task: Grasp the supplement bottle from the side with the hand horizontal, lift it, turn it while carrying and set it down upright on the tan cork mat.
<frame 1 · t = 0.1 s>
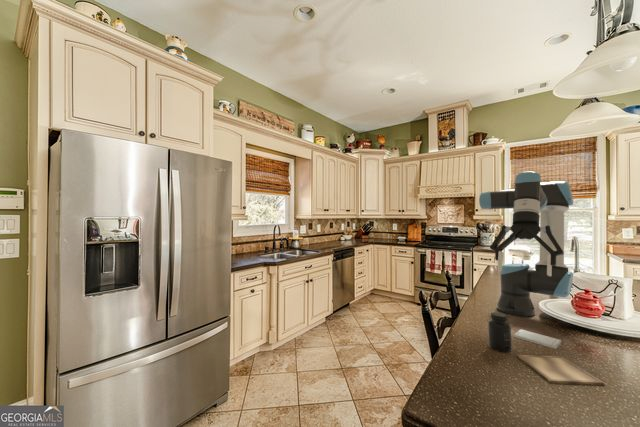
hand: (523, 272, 90), 28 cm above the kitchen island, tool tilted 20°, fingers open, 13 cm apart
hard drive: (537, 341, 101), on the kitchen island
cork mat: (556, 369, 81), on the kitchen island
supplement bottle: (499, 348, 94), on the kitchen island
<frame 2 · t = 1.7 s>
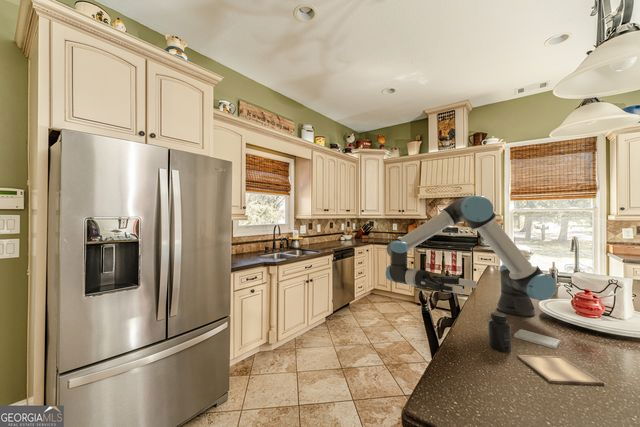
hand: (469, 287, 102), 20 cm above the kitchen island, tool horizontal, fingers open, 13 cm apart
nothing on the kitchen island moved.
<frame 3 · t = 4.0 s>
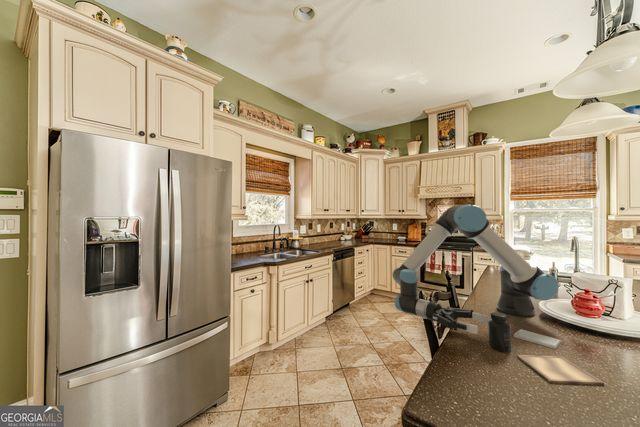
hand: (484, 325, 98), 7 cm above the kitchen island, tool horizontal, fingers open, 13 cm apart
nothing on the kitchen island moved.
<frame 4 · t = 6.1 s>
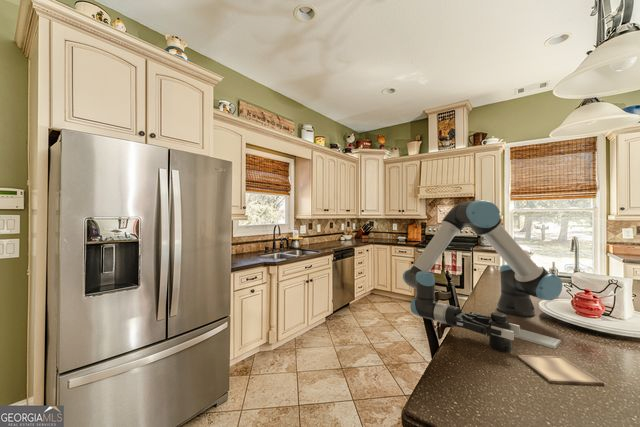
hand: (516, 332, 91), 7 cm above the kitchen island, tool horizontal, fingers closed on supplement bottle, 7 cm apart
supplement bottle: (499, 348, 94), on the kitchen island, touching gripper
everything else where it was.
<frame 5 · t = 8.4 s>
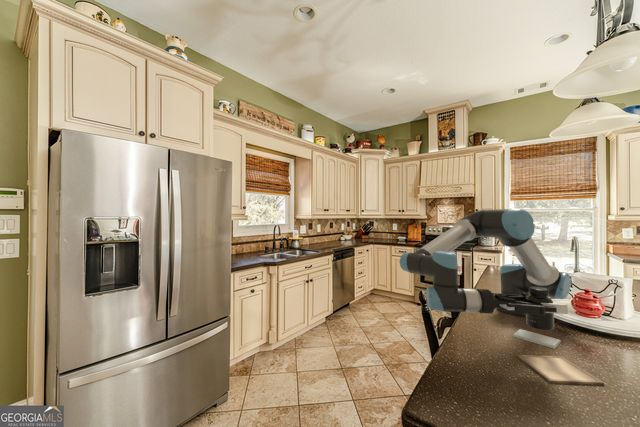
hand: (557, 305, 83), 19 cm above the kitchen island, tool horizontal, fingers closed on supplement bottle, 7 cm apart
supplement bottle: (539, 327, 83), point 12 cm above the kitchen island, touching gripper
everything else where it was.
when the fingers open (9 cm above the kitchen island, at t = 10.7 s): supplement bottle drops 1 cm, resting on cork mat.
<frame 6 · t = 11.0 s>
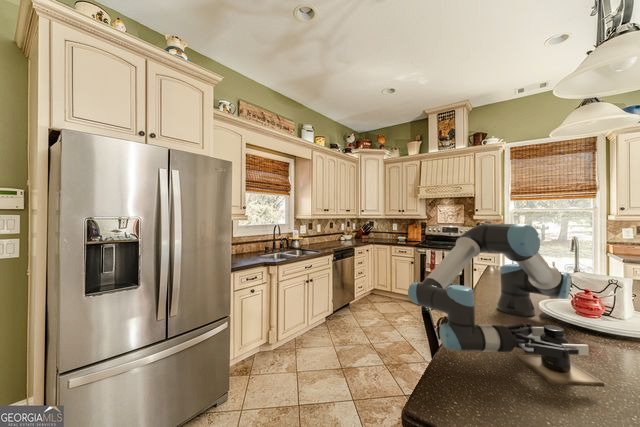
hand: (569, 340, 81), 9 cm above the kitchen island, tool horizontal, fingers open, 11 cm apart
supplement bottle: (555, 367, 81), resting on cork mat
everything else where it was.
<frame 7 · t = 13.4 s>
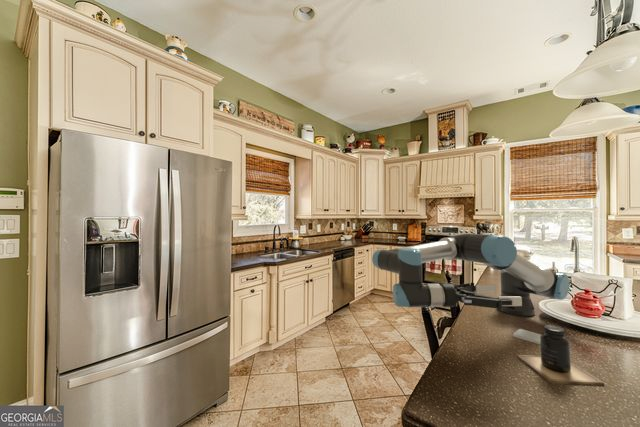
hand: (507, 294, 88), 21 cm above the kitchen island, tool horizontal, fingers open, 13 cm apart
nothing on the kitchen island moved.
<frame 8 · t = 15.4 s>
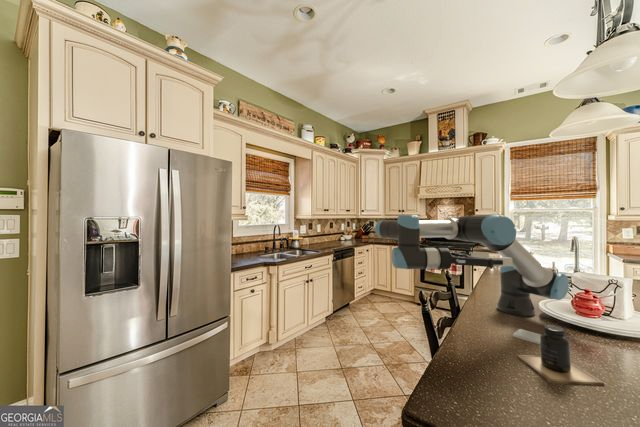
hand: (499, 258, 93), 32 cm above the kitchen island, tool horizontal, fingers open, 13 cm apart
nothing on the kitchen island moved.
at the end: supplement bottle inside the target area on the cork mat (0.2 cm from its centre), point 0.4 cm above the cork mat's base; supplement bottle tilted 0°; the gripper is holding nothing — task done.
